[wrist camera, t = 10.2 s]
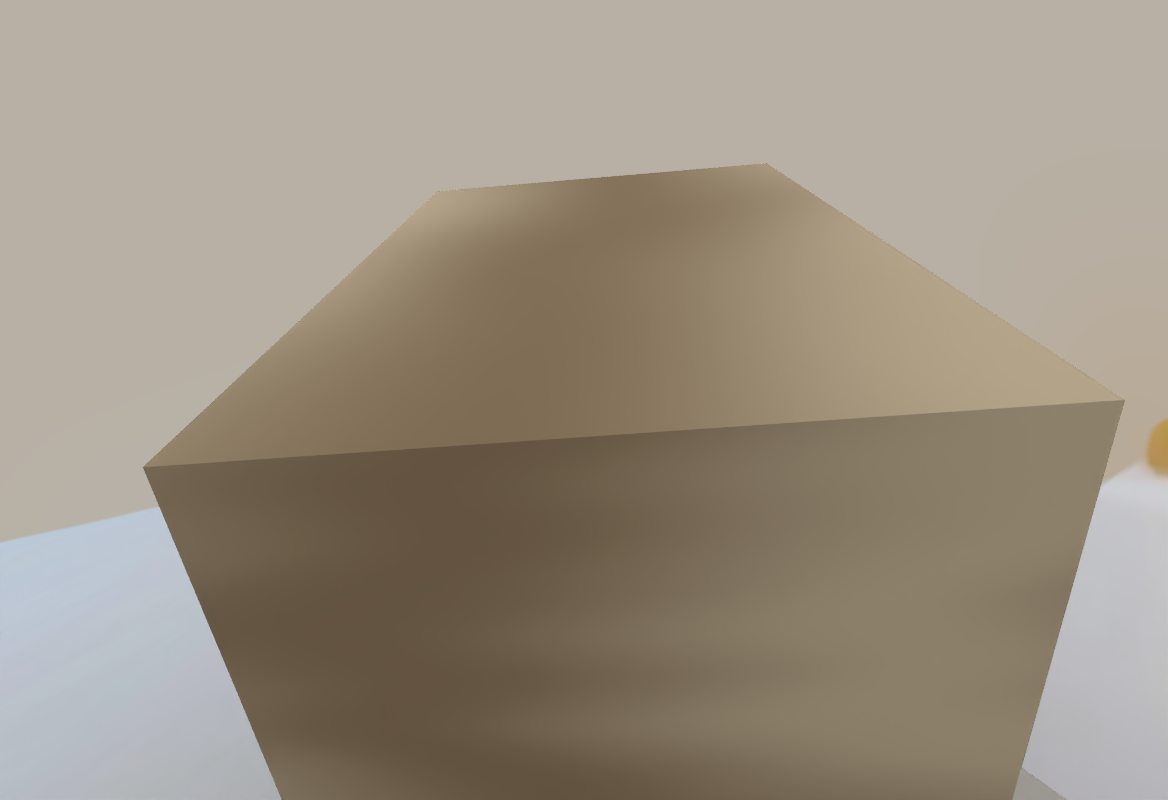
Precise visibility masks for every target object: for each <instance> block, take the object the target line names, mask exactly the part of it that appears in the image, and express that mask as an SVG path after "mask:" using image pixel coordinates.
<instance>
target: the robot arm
mask: <svg viewBox="0 0 1168 800" xmlns="http://www.w3.org/2000/svg"><path fill="white" fill-rule="evenodd" d="M1012 800H1066V799H1065V798H1063V797H1062V796H1060V795H1059V794H1058V793H1056V792H1055V791H1053V790H1052V789H1051V788H1049V787H1048V786H1047V785H1045V784H1044V783H1042V782H1041V781H1040V780H1038V779H1037V778H1035V777H1034V776H1033V775H1031V774H1030V773H1028V772H1027V771H1026V770H1024V769H1023V768H1021V770H1020V774H1019V778H1018V781H1017V785H1016V788H1015V792H1014V795H1013V799H1012Z"/></svg>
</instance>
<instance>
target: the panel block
mask: <svg viewBox="0 0 1168 800" xmlns="http://www.w3.org/2000/svg"><path fill="white" fill-rule="evenodd" d="M1124 401H1125V400H1124V399H1123V398H1121V397H1120V396H1118V395H1117V394H1115V393H1114V392H1112V391H1111V390H1109V389H1108V388H1106V387H1105V386H1103V385H1102V384H1100V383H1098V382H1097V381H1096V380H1094V379H1092V378H1091V377H1090V376H1088V375H1086V374H1085V373H1083V372H1082V371H1080V370H1079V369H1077V368H1076V367H1074V366H1073V365H1071V364H1070V363H1068V362H1067V361H1065V360H1064V359H1062V358H1060V357H1059V356H1058V355H1056V354H1055V353H1053V352H1051V351H1050V350H1049V349H1047V348H1046V347H1044V346H1043V345H1041V344H1040V343H1038V342H1036V341H1035V340H1033V339H1032V338H1030V337H1029V336H1027V335H1026V334H1024V333H1023V332H1021V331H1020V330H1018V329H1017V328H1015V327H1014V326H1012V325H1011V324H1009V323H1008V322H1006V321H1005V320H1003V319H1001V318H1000V317H998V316H997V315H996V314H994V313H993V312H991V311H989V310H988V309H986V308H985V307H983V306H982V305H980V304H979V303H977V302H976V301H974V300H973V299H971V298H970V297H968V296H967V295H965V294H964V293H962V292H961V291H959V290H957V289H956V288H955V287H953V286H952V285H950V284H948V283H947V282H945V281H944V280H942V279H941V278H939V277H938V276H936V275H934V274H933V273H932V272H930V271H929V270H927V269H926V268H924V267H923V266H921V265H920V264H918V263H917V262H915V261H914V260H912V259H911V258H909V257H908V256H906V255H905V254H903V253H901V252H900V251H898V250H897V249H895V248H894V247H892V246H891V245H889V244H888V243H886V242H885V241H883V240H882V239H880V238H879V237H877V236H876V235H874V234H873V233H871V232H870V231H868V230H867V229H865V228H864V227H862V226H861V225H859V224H857V223H856V222H855V221H853V220H851V219H850V218H848V217H847V216H845V215H844V214H842V213H841V212H839V211H838V210H836V209H835V208H833V207H832V206H830V205H829V204H827V203H826V202H824V201H823V200H821V199H820V198H818V197H817V196H815V195H814V194H812V193H811V192H809V191H808V190H806V189H804V188H803V187H801V186H800V185H798V184H797V183H795V182H794V181H792V180H791V179H789V178H787V177H786V176H785V175H783V174H782V173H780V172H779V171H777V170H776V169H774V168H773V167H771V166H770V165H768V164H767V163H766V164H754V165H743V166H731V167H719V168H708V169H696V170H684V171H673V172H660V173H649V174H637V175H626V176H613V177H602V178H590V179H578V180H566V181H554V182H543V183H531V184H519V185H507V186H496V187H484V188H473V189H460V190H449V191H438V192H436V193H435V194H434V195H433V196H432V197H431V198H430V199H429V200H428V201H427V202H426V203H425V204H423V205H422V206H421V207H420V208H419V209H418V210H417V211H416V212H415V213H414V214H413V215H412V216H411V217H410V218H409V219H407V220H406V221H405V222H404V223H403V224H402V225H401V226H400V227H399V228H398V229H397V230H396V231H395V232H394V233H393V234H392V235H391V236H389V237H388V238H387V239H386V240H385V241H384V242H383V243H382V244H381V245H380V246H379V247H378V248H377V249H375V250H374V251H373V252H372V253H371V254H370V255H369V256H368V257H367V258H366V259H365V260H364V261H363V262H362V263H361V264H359V266H357V267H356V268H355V269H354V270H353V271H352V272H351V273H350V274H349V275H348V276H347V277H346V278H345V279H344V280H343V281H341V282H340V283H339V284H338V285H337V286H336V287H335V288H334V289H333V290H332V291H331V292H330V293H329V294H327V295H326V296H325V297H324V298H323V299H322V300H321V301H320V302H319V303H318V304H317V305H316V306H315V307H314V308H313V309H311V310H310V311H309V312H308V313H307V314H306V315H305V316H304V317H303V318H302V319H301V320H300V321H299V322H298V323H296V324H295V325H294V326H293V327H292V328H291V329H290V330H289V331H288V332H287V333H286V334H285V335H284V336H283V337H282V338H280V339H279V340H278V341H277V342H276V343H275V344H274V345H273V346H272V347H271V348H270V349H269V350H268V351H267V352H266V353H265V354H263V355H262V356H261V357H260V358H259V359H258V360H257V361H256V362H255V363H254V364H253V365H252V366H251V367H250V368H248V369H247V370H246V372H244V373H243V374H242V375H241V376H240V377H239V378H238V379H237V380H236V381H235V382H234V383H232V385H230V386H229V387H228V388H227V389H226V390H225V391H224V392H223V393H222V394H221V395H220V396H219V397H217V398H216V399H215V400H214V401H213V402H212V403H211V404H210V405H209V406H208V407H207V408H206V409H205V410H204V411H203V412H201V413H200V414H199V415H198V416H197V417H196V418H195V419H194V420H193V421H192V422H191V423H190V424H189V425H188V426H187V427H185V429H183V430H182V431H181V432H180V433H179V434H178V435H177V436H176V437H175V438H174V439H173V440H172V441H171V442H170V443H168V444H167V445H166V446H165V447H164V448H163V449H162V450H161V451H160V452H159V453H158V454H157V455H156V456H155V457H154V458H153V459H151V460H150V461H149V462H148V463H147V464H146V465H145V466H144V467H143V468H144V471H145V473H146V475H147V478H148V480H149V483H150V485H151V488H152V490H153V492H154V495H155V497H156V499H157V502H158V504H159V507H160V509H161V512H162V514H163V516H164V519H165V521H166V523H167V526H168V528H169V531H170V533H171V535H172V538H173V540H174V543H175V545H176V547H177V550H178V552H179V555H180V557H181V559H182V562H183V564H184V566H185V569H186V571H187V574H188V576H189V578H190V581H191V583H192V586H193V588H194V590H195V593H196V595H197V598H198V600H199V602H200V605H201V607H202V610H203V612H204V614H205V617H206V619H207V621H208V624H209V626H210V629H211V631H212V633H213V636H214V638H215V641H216V643H217V645H218V648H219V650H220V653H221V655H222V657H223V660H224V662H225V664H226V667H227V669H228V672H229V674H230V676H231V679H232V681H233V684H234V686H235V688H236V691H237V693H238V696H239V698H240V700H241V703H242V705H243V708H244V710H245V712H246V715H247V717H248V719H249V722H250V724H251V727H252V729H253V731H254V734H255V736H256V739H257V741H258V743H259V746H260V748H261V751H262V753H263V755H264V758H265V760H266V762H267V765H268V767H269V770H270V772H271V774H272V777H273V779H274V782H275V784H276V786H277V789H278V791H279V794H280V796H281V798H282V800H1012V799H1013V795H1014V792H1015V788H1016V785H1017V781H1018V778H1019V774H1020V770H1021V767H1022V763H1023V760H1024V756H1025V753H1026V749H1027V746H1028V742H1029V738H1030V735H1031V731H1032V728H1033V724H1034V721H1035V717H1036V714H1037V710H1038V707H1039V703H1040V699H1041V696H1042V692H1043V689H1044V685H1045V682H1046V678H1047V675H1048V671H1049V667H1050V664H1051V660H1052V657H1053V653H1054V650H1055V646H1056V643H1057V639H1058V636H1059V632H1060V628H1061V625H1062V621H1063V618H1064V614H1065V611H1066V607H1067V604H1068V600H1069V596H1070V593H1071V589H1072V586H1073V582H1074V579H1075V575H1076V572H1077V568H1078V564H1079V561H1080V557H1081V554H1082V550H1083V547H1084V543H1085V540H1086V536H1087V533H1088V529H1089V525H1090V522H1091V518H1092V515H1093V511H1094V508H1095V504H1096V501H1097V497H1098V493H1099V490H1100V486H1101V483H1102V479H1103V476H1104V472H1105V469H1106V465H1107V461H1108V458H1109V454H1110V450H1111V447H1112V444H1113V440H1114V437H1115V433H1116V430H1117V426H1118V422H1119V419H1120V415H1121V412H1122V408H1123V405H1124Z"/></svg>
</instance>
